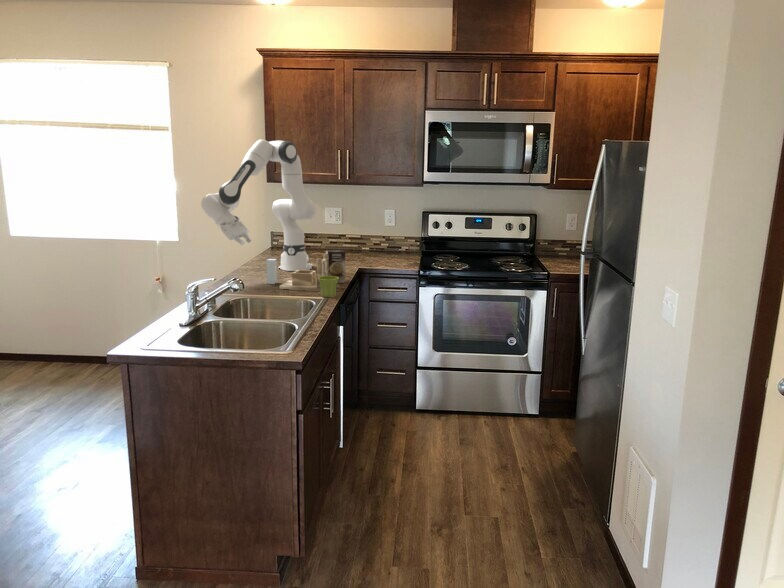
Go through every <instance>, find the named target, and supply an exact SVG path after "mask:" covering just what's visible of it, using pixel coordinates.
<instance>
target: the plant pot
mask: <svg viewBox="0 0 784 588" xmlns="http://www.w3.org/2000/svg"><path fill="white" fill-rule="evenodd" d="M318 279H319V282H320V286H321V291H320V292H321V297H323V298H326V297H327V298H334V297H335V296H336V292H337V285H338V283H337V282H338V279H339V277H337V276H321V277H318Z"/></svg>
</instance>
